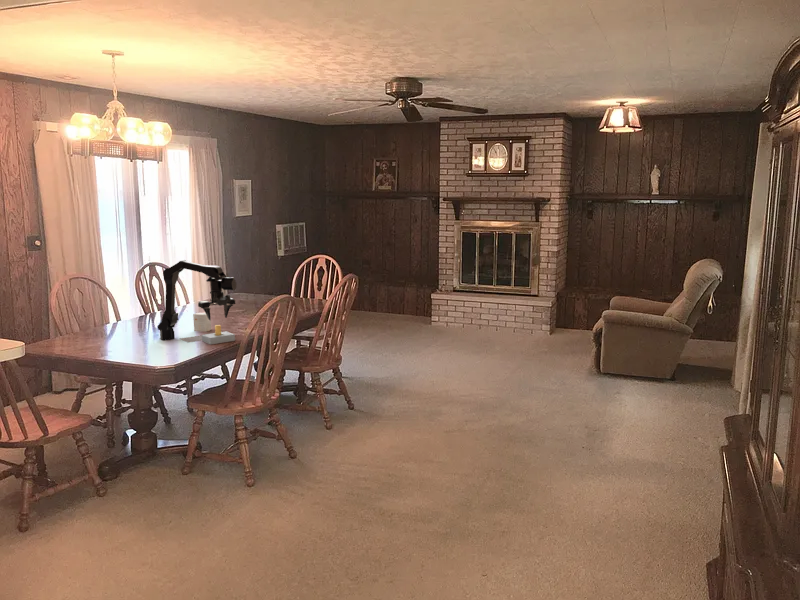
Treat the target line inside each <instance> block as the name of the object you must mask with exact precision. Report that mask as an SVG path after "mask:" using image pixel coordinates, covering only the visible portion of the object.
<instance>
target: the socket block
mask: <svg viewBox="0 0 800 600" xmlns="http://www.w3.org/2000/svg"><path fill="white" fill-rule="evenodd" d="M201 341H202V342H204V343H206V344H209V345H216V344H217V345H218V344H222V343H223V344H224V343H229V342H235V341H236V335H235V333H232V332H229V331H227V330H225V331H221V335H219V336H215V332H212V333H206V334H202V340H201Z"/></svg>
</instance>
